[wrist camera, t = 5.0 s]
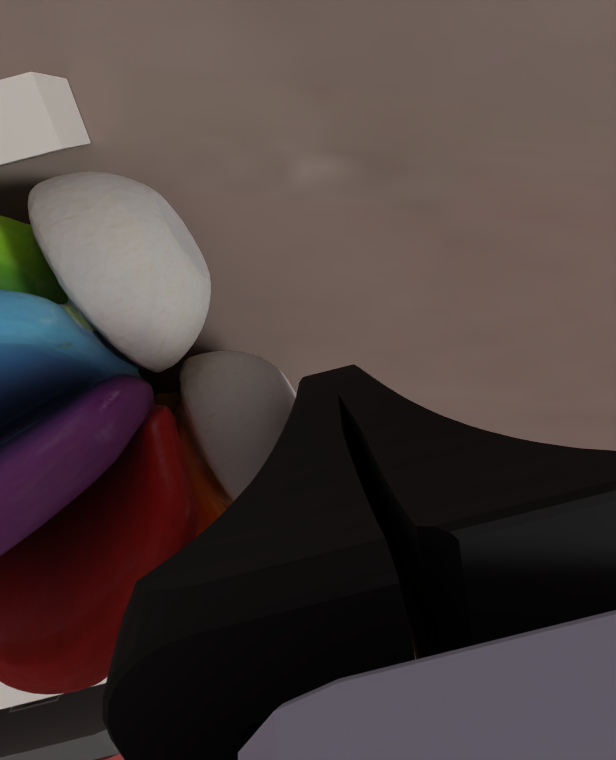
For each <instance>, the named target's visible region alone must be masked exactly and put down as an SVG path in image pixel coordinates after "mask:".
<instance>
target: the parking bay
mask: <svg viewBox="0 0 616 760" xmlns="http://www.w3.org/2000/svg"><path fill="white" fill-rule="evenodd" d="M90 143H91V142H90V140H89V137H88V134H87V132H86V129H85V126H84V124H83V121H82V119H81V116H80V113H79V111H78V108H77V105H76V103H75V100H74V97H73V95H72V92H71V89H70V87H69V84H68V81H67V79H66V78H61V77H56V76H50V75H45V74H40V73H35V72H28V73H25V74H21V75H17V76H13V77H9V78H5V79H1V80H0V166H4V165H8V164H12V163H16V162H20V161H24V160H27V159H31V158H35V157H39V156H43V155H47V154H51V153H55V152H59V151H62V150H66V149H70V148H74V147H78V146H82V145H86V144H90ZM106 681H107V678H105V679H104V680H103V681H102V682H100V683H98V684H96V685H100V684H104V683H106ZM96 685H94V686H96ZM91 687H92V686H91ZM63 694H64V693H63ZM56 695H60V694H49V695H45V694H33V693H28V692H24V691H20V690H17V689H14V688H12V687H9V686H7V685H5V684H3V683H2V682H0V709H4V708H8V707H12V706H16V705H20V704H24V703H28V702H32V701H36V700H40V699H44V698H48V697H52V696H56Z"/></svg>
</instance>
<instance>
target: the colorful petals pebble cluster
mask: <svg viewBox="0 0 616 760" xmlns="http://www.w3.org/2000/svg"><path fill="white" fill-rule="evenodd" d="M28 212H29V219H30V222H31V225H29V224H25V223H22V222H19V221H17V220H14V219H11V218H8V217H4V216H0V682H2V683H3V684H5V685H7V686H9V687H12V688H14V689H17V690H20V691H24V692H28V693H33V694H45V695H49V694H63V693H70V692H77V691H80V690H82V689H85V688H88V687H91V686H94V685H96V684H98V683H100V682H102V681H103V680H104V679H105V678H107V677H108V672H109V668H110V664H111V660H112V656H113V652H114V648H115V643H116V639H117V635H118V632H119V629H120V626H121V622H122V619H123V616H124V613H125V610H126V608H127V605H128V603H129V600H130V597H131V595H132V592H133V589H134V586H135V583H136V581H137V580H139V579H140V578H142V577H143V576H145V575H146V574H148V573H149V572H151V571H152V570H153V569H155V568H156V567H157V566H159V565H160V564H162V563H163V562H164V561H166V560H167V559H168V558H170V557H171V556H173V555H174V554H175V553H177V552H178V551H179V550H181V549H182V548H184V547H185V546H186V545H187V544H188V543H190V542H191V541H192V540H193V539H195V538H196V537H197V536H198V535H199V534H200V533H202V532H203V531H204V530H205V529H206V528H207V527H208V526H210V525H211V524H212V523H213V522H214V521H215V520H216V519H217V518H218V517H219V516H220V515H221V514H222V513H223V512H224V511H225V510H226V509H227V508H228V507H229V506H230V505H231V504H232V503H233V502H234V501H235V499H236V498H237V497H238V496H239V495H240V494H241V493H242V492H243V490H244V489H245V488H246V487H247V486H248V485H249V484H250V483H251V481H252V480H253V479H254V478H255V476H256V475H257V473H258V472H259V470H260V469H261V468H262V466H263V464H264V463H265V461H266V460H267V458H268V456H269V455H270V453H271V451H272V450H273V448H274V446H275V444H276V442H277V440H278V438H279V436H280V434H281V433H282V431H283V428H284V426H285V424H286V422H287V419H288V417H289V414H290V412H291V410H292V407H293V404H294V401H295V398H296V393H295V391H294V389H293V388H292V386H291V385H290V383H289V381H288V380H287V378H286V377H285V376H284V374H283V373H282V372H281V371H280V370H279V369H278V368H277V367H276V366H275V365H273V364H272V363H270V362H269V361H267V360H265V359H263V358H260V357H258V356H255V355H252V354H248V353H244V352H238V351H214V352H208V353H202V354H199V355H196V356H193V357H189V358H188V359H186V360H185V361H184V363H183V365H182V367H181V370H180V374H179V380H180V384H181V386H180V393H181V396H180V395H179V394H178V393H176V392H172V393H159V394H156V395H155V396H154V394H153V390H152V386H151V385H150V384H149V383H147V382H146V381H145V380H144V379H143V378H142V377H141V376H140V374H139V369H140V368H141V367H144V368H146V369H148V370H151V371H153V372H162V371H164V370H166V369H167V368H170V367H172V366H173V365H175V364H176V363H177V362H178V361H179V360H180V359H181V358H182V357H183V356H184V355H185V354H186V353H187V351H188V350H189V349H190V348H191V347H192V345H193V344H194V342H195V340H196V339H197V337H198V335H199V333H200V331H201V330H202V328H203V326H204V322H205V319H206V316H207V312H208V309H209V304H210V295H211V283H210V274H209V271H208V268H207V265H206V262H205V260H204V258H203V256H202V253H201V251H200V249H199V248H198V246H197V244H196V242H195V240H194V239H193V237H192V235H191V234H190V232H189V231H188V229H187V227H186V226H185V224H184V223H183V221H182V220H181V219H180V217H179V216H178V215H177V213H176V212H175V211H174V209H173V208H172V207H171V206H170V205H169V204H168V203H167V201H166V200H165V199H164V198H163V197H162V196H161V195H160V194H159V193H157V192H156V191H155V190H153V189H152V188H150V187H148V186H146V185H144V184H142V183H140V182H137V181H135V180H132V179H130V178H127V177H124V176H120V175H116V174H111V173H104V172H95V171H86V172H75V173H69V174H64V175H60V176H56V177H53V178H50V179H48V180H45V181H43V182H40V183H38V184H36V185H35V186H34V187H33V189H32V190H31V191H30V194H29V198H28Z"/></svg>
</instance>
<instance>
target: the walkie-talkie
mask: <svg viewBox="0 0 616 760" xmlns="http://www.w3.org/2000/svg"><path fill="white" fill-rule="evenodd" d="M105 685H106V683H104V684H100V685H96V686H92V687H88V688H85V689H82V690H80V691H77V692H70V693H64V694H60V695H56V696H52V697H48V698H44V699H40V700H36V701H32V702H28V703H24V704H20V705H16V706H12V707H8V708H4V709H0V760H124V759H123V757H122V756H121V754H120V753H119V751H118V750H117V748H116V747H115V745H114V744H113V742H112V740H111V739H110V736H109V734H108V731H107V729H106V727H105V724H104V722H103V719H102V708H103V693H104V689H105Z"/></svg>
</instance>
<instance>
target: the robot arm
mask: <svg viewBox="0 0 616 760" xmlns="http://www.w3.org/2000/svg"><path fill="white" fill-rule="evenodd" d="M414 653H415V655H414ZM415 657H416V660H415ZM102 719H103V722H104V724H105V727H106V729H107V731H108V734H109V736H110V739H111V740H112V742H113V744H114V745H115V747H116V748H117V750H118V751H119V753H120V754H121V756H122V757H123V759H124V760H616V451H610V450H595V449H581V448H573V447H566V446H559V445H552V444H545V443H539V442H533V441H528V440H523V439H518V438H513V437H509V436H505V435H501V434H497V433H493V432H489V431H485V430H482V429H479V428H475V427H472V426H469V425H466V424H463V423H461V422H458V421H455V420H452V419H450V418H447V417H444V416H442V415H439V414H437V413H435V412H432V411H430V410H428V409H426V408H424V407H422V406H420V405H418V404H416V403H414V402H412V401H410V400H408V399H406V398H404V397H403V396H401V395H399V394H398V393H396V392H394V391H393V390H391V389H390V388H388V387H386V386H385V385H383V384H382V383H380V382H379V381H377V380H376V379H375V378H373V377H372V376H370V375H369V374H368V373H366V372H365V371H363V370H362V369H361V368H359V367H357V366H356V365H354V364H353V365H349V366H345V367H341V368H337V369H333V370H329V371H325V372H321V373H317V374H313V375H309V376H306V377H303V378H302V379H301V381H300V382H299V387H298V391H297V395H296V398H295V401H294V404H293V407H292V410H291V412H290V414H289V417H288V419H287V422H286V424H285V426H284V428H283V431H282V433H281V434H280V436H279V438H278V440H277V442H276V444H275V446H274V448H273V450H272V451H271V453H270V455H269V456H268V458H267V460H266V461H265V463H264V464H263V466H262V468H261V469H260V470H259V472H258V473H257V475H256V476H255V478H254V479H253V480H252V481H251V483H250V484H249V485H248V486H247V487H246V488H245V489H244V490H243V492H242V493H241V494H240V495H239V496H238V497H237V498H236V499H235V501H234V502H233V503H232V504H231V505H230V506H229V507H228V508H227V509H226V510H225V511H224V512H223V513H222V514H221V515H220V516H219V517H218V518H217V519H216V520H215V521H214V522H213V523H212V524H211V525H210V526H208V527H207V528H206V529H205V530H204V531H203V532H202V533H200V534H199V535H198V536H197V537H196V538H195V539H193V540H192V541H191V542H190V543H188V544H187V545H186V546H185V547H184V548H182V549H181V550H179V551H178V552H177V553H175V554H174V555H173V556H171V557H170V558H168V559H167V560H166V561H164V562H163V563H162V564H160V565H159V566H157V567H156V568H155V569H153V570H152V571H151V572H149V573H148V574H146V575H145V576H143V577H142V578H140V579H139V580H137V581H136V583H135V586H134V589H133V592H132V595H131V597H130V600H129V603H128V605H127V608H126V610H125V613H124V616H123V619H122V622H121V626H120V629H119V632H118V635H117V639H116V643H115V648H114V652H113V656H112V660H111V664H110V668H109V672H108V677H107V681H106V685H105V689H104V693H103V708H102Z"/></svg>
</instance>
